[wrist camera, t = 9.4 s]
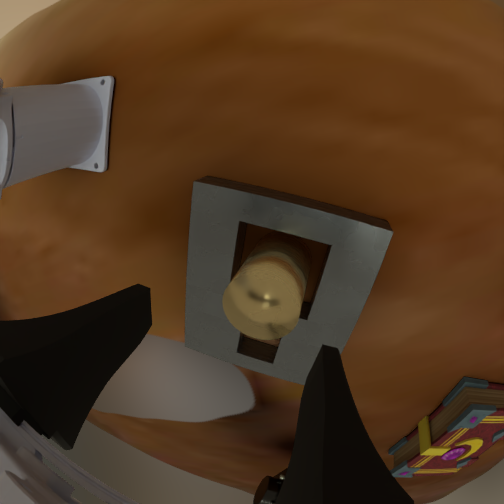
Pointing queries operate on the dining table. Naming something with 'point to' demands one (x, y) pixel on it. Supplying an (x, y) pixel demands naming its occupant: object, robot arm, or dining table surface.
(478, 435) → the decorative book
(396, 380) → the dining table surface
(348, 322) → the grey plate with cutouts
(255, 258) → the brass fitting
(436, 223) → the dining table surface
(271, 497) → the white security camera
